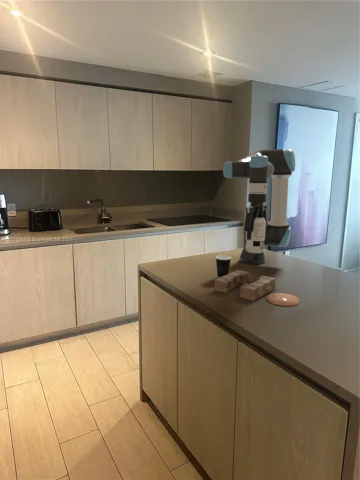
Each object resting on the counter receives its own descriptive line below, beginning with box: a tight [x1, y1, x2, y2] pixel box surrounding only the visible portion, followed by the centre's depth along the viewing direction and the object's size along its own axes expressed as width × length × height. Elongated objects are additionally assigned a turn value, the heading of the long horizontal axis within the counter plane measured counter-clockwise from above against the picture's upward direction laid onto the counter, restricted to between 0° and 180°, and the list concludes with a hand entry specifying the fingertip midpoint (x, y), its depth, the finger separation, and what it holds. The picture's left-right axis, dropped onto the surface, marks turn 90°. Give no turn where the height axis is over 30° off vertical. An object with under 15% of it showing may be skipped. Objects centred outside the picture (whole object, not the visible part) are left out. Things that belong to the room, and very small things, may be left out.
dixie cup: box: [214, 254, 232, 279], centre depth 174 cm, size 8×8×11 cm
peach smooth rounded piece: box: [266, 292, 300, 307], centre depth 146 cm, size 13×13×1 cm
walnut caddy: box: [214, 269, 276, 302], centre depth 159 cm, size 20×20×5 cm
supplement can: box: [245, 217, 266, 253], centre depth 151 cm, size 8×8×15 cm
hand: (254, 245), depth 152 cm, fingers closed on supplement can, 8 cm apart
